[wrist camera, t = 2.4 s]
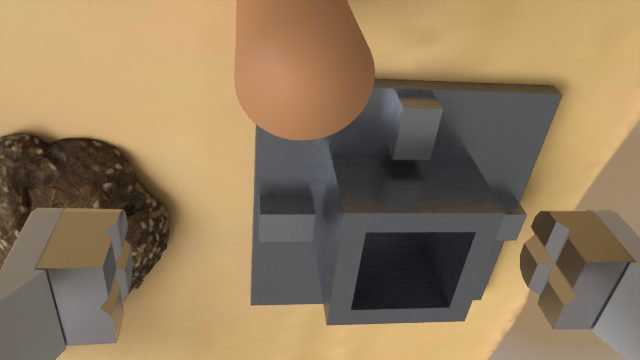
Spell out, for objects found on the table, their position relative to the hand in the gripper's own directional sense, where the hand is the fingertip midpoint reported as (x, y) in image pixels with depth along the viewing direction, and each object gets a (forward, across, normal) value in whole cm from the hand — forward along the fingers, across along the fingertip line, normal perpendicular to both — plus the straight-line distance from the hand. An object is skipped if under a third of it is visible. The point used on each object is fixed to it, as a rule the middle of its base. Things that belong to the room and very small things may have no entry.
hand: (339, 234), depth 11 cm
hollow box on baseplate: (+17, -7, +12) cm, 22 cm away
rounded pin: (+17, 0, -1) cm, 17 cm away
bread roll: (+18, +12, +14) cm, 26 cm away
